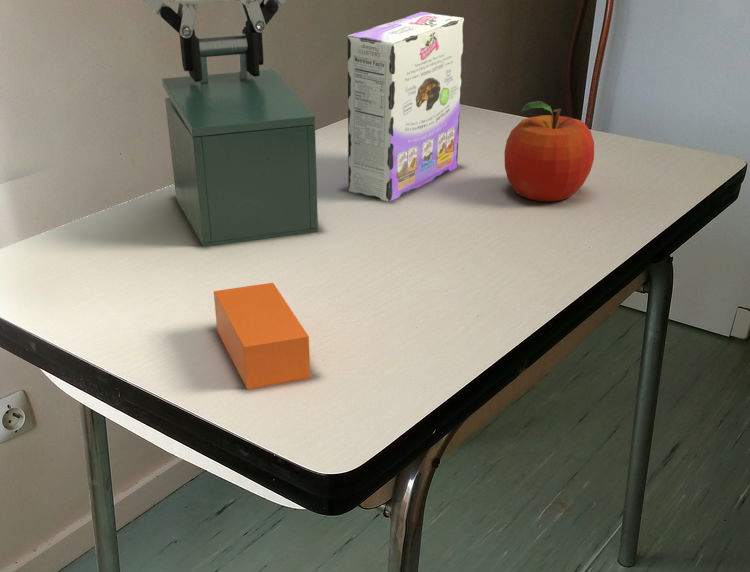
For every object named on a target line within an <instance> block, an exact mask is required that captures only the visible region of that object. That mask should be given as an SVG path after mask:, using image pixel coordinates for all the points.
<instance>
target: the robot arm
mask: <svg viewBox="0 0 750 572" xmlns="http://www.w3.org/2000/svg"><path fill="white" fill-rule="evenodd" d="M139 1H140V2H141V3H142V4H143V5H144V6H145V7H146V8H148V9H149V10H150V11H152V12H153V13H155V14H156V15H157V16H159V17H160V18H161V19H163V20H164V21H165V22H166V23H167V24H168V25H169V26H170V27H171V28H173V29H174V30H175V31H176V32H177V33H178V35H179V44H180V53H181V54H180V55H181V61H182V62H181V64H182V69H183V71H184V72H188V74H189V76H191V77H192V79H193V80H194V81H195V82H199V81H201V80H202V68H201V57H200V46H199V39H198V38H197V37H198V36H197V35H196V32H195V29H194V28H195V21H196V18H197V17H196V16H197V12H198V11H197V10H198V5H199V4H214V3H231V2H239V3H240V6H241V9H242V12H243V14H244V15H243V16H244V18H245V26H243V29H242V30H241V31H242V33H241V34H246V35H247V38H248V43H249V52H248V54H246V56H247V71H248V72H249V73H250V74H251V75H253V76H254V77H256V76H259V70H260V66H262V65H264V62H265V61H264V59H265V58H264V43H263V33H264V32H265V31H266V28H267V25H268V24H269V22H270V21H271V20H272V19H273V17H274V16H275V15H276V14H277V12H278V11H279V8H281V6H283V5H284V4H285V3H286V2H287V1H288V0H261V2H260V3H259V0H173V1H174V2H176V3H177V7H176V10H174V9H173V8H171V6H170V5H168V4H167V3H166V2H165V1H163V0H139Z"/></svg>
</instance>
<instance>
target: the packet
mask: <svg viewBox="0 0 750 572" xmlns="http://www.w3.org/2000/svg"><path fill="white" fill-rule="evenodd" d="M213 301H214V309H215V311H214V313H215V320H216V332H217V333H218V336H219V338H220V340H221V341H222V343H223V345H224V347H225V349H226V351H227V353H228V355H229V357H230V359H231V361H232V363H233V365H234V367H235V369H236V370H237V372H238V374H239V376H240V378H241V380H242V382H243V385H244V386H245V388H246V389H247V390H251V389H256V388H262V387H267V386H273V385H278V384H279V385H280V384H286V383H290V382H296V381H302V380H308V379H311V358H310V357H311V355H310V336H309V334H308V332H307V331H306V330H305V328H304V327H303V325H302V324H301V322H300V321H299V319H298V318H297V316H296V315H295V313H294V312H293V310H292V309H291V307H290V306H289V304H288V303H287V301H286V300H285V298H284V297H283V294H281V292H280V291H279V289H278V288H277V286H276V284H275V283H274V282H267V283H261V284H252V285H247V286H240V287H232V288H226V289H219V290H218V289H217V290H214V291H213Z"/></svg>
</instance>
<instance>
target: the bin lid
mask: <svg viewBox="0 0 750 572" xmlns="http://www.w3.org/2000/svg"><path fill="white" fill-rule="evenodd" d="M196 37H197V38H198V39H199V46H200V57H201V68H202V80H201V81H199V82H195V81H194V80H193V79H192V77H191V76H190V75H189V76H188V75H187V76H175V77H165V78H164V77H163V78H162V79H161V82H162V87H163V89H164V91H165V92H166V94H167V95H168V98H170V99H171V101H172V102H173V104H174V106H175V107H176V109H177V111H178V112H179V114H180V116H181V117H182V119H183V121H184V123H185V124H186V126H187V128H188V129H189V131H190V133H191V134H192V136H193V137H196V136H206V135H216V134H226V133H236V132H246V131H256V130H266V129H276V128H285V127H295V126H305V125H316V117H315V114H313V112H311V110H310V109H309V108H308V107H307V105H306V104H305V103H304V102H303V101H302V99H301V98H300V97H299V96H298V95H297V94H296V93H295V92H294V91H293V89H292V88H291V87H290V86H289V85H288V83H287V82H285V80H284V78H282V77H281V75H280V74H279V73H278V72H277V71H276V70H275V69H273V68H272V69H261V70H260V69H259V76H256V77H254V76H253V75H251V74H250V73H249V72H248V71H247V56H246V54H248V52H249V43H248V38H247V35H246V34H243V33H238V34H225V35H224V34H223V35H209V36H196ZM225 56H237V60H238V61H237V62H238V72H237V71H236V72H226V73H212V74H209V73H208V61H207V60H208V59H207V58H212V57H225Z"/></svg>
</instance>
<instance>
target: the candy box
mask: <svg viewBox="0 0 750 572" xmlns="http://www.w3.org/2000/svg"><path fill="white" fill-rule="evenodd" d="M464 32H465V18H464V17H460V16H453V15H448V14H440V13H439V14H438V13H433V12H428V11H427V12H426V11H419V12H417V13H414V14H411V15H408V16H405V17H402V18H399V19H396V20H393V21H390V22H387V23H383V24H380V25H377V26H373V27H371V28H367V29H364V30H362V31H357V32H354V33H351V34H347V133H348V134H347V166H348V167H347V169H348V171H347V174H348V175H347V176H348V180H347V182H348V183H347V184H348V189H347V190H348V192H350V193H353V194H358V195H361V196H365V197H369V198H372V199H375V200H376V199H377V200H380V201H383V202H391V201H392V202H393V201H394V200H396V199H399V198H400V197H402V196H404V195H406V194H408V193H411V192H413V191H415V190H417V189H418V188H421V187H422V186H424V185H426V184H428V183H430V182H432V181H433V180H435V179H438V178H440V177H441V176H443V175H446V174H448V173H449V172H452V171H454V170H456V169H458V160H459V159H458V158H459V157H458V155H459V138H460V137H459V133H460V111H461V95H462V75H463V55H464V53H463V52H464V34H465V33H464Z"/></svg>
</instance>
